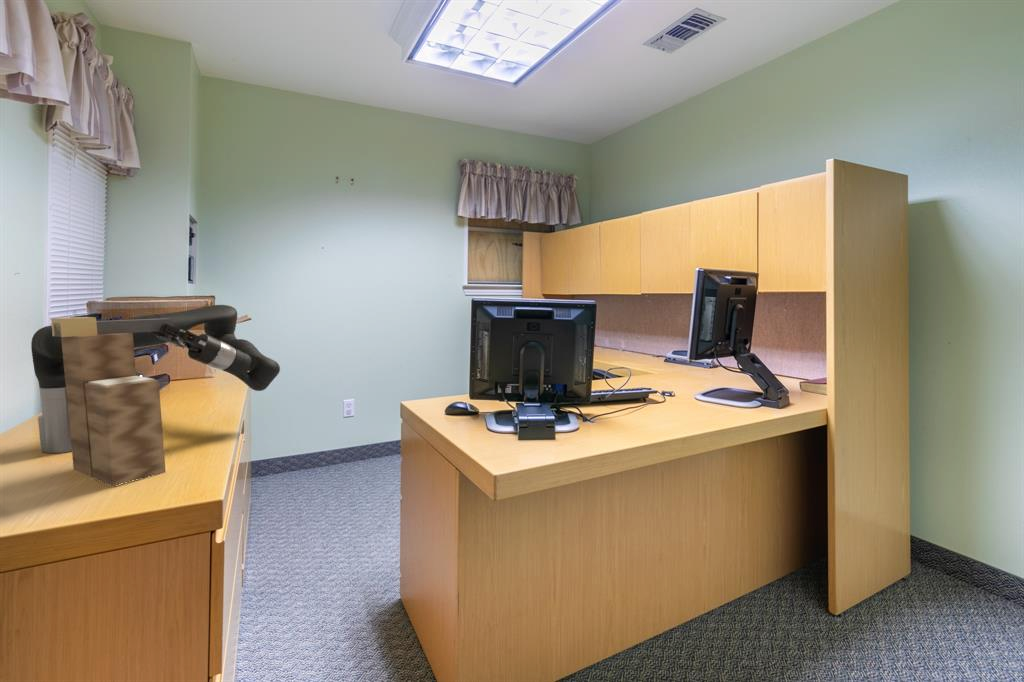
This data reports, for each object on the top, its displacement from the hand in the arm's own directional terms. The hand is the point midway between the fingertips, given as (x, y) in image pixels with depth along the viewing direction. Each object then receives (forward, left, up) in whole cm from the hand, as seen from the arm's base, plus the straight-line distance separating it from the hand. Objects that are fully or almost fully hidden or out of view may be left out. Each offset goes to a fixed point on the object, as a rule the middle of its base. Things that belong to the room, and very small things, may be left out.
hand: (153, 326), depth 122 cm
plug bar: (-5, -6, -1) cm, 8 cm away
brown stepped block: (-3, -12, -33) cm, 36 cm away
